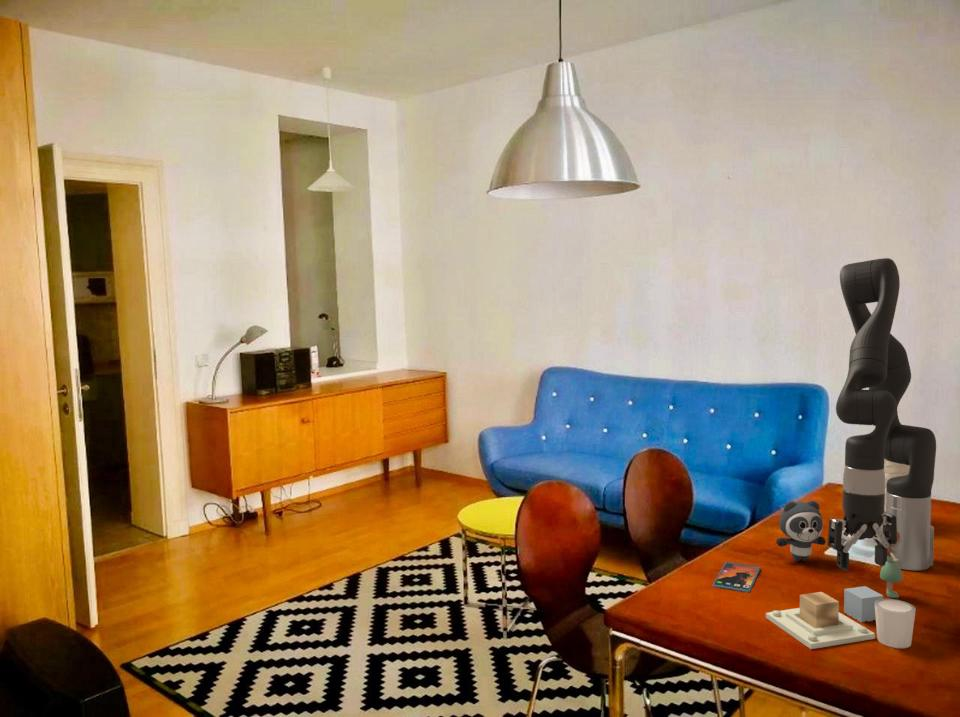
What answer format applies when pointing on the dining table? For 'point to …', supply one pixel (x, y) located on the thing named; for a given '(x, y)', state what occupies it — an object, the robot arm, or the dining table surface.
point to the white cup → (894, 622)
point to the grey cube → (861, 603)
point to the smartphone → (737, 577)
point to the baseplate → (819, 629)
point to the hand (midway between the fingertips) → (861, 567)
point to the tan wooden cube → (819, 610)
